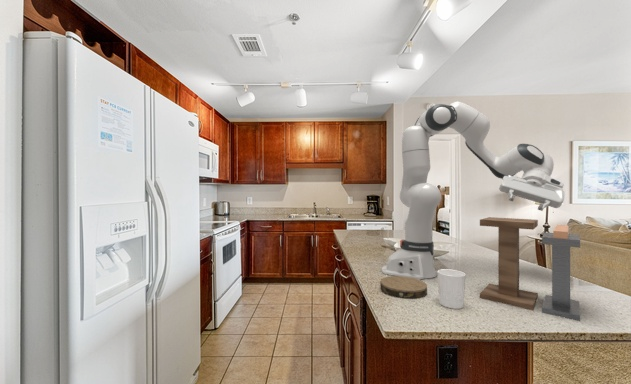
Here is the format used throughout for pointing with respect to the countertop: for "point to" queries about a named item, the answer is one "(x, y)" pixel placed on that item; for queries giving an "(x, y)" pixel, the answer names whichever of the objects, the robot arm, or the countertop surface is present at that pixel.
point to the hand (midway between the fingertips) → (525, 204)
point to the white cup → (451, 288)
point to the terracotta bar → (561, 231)
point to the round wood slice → (403, 287)
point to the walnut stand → (509, 264)
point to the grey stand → (561, 278)
